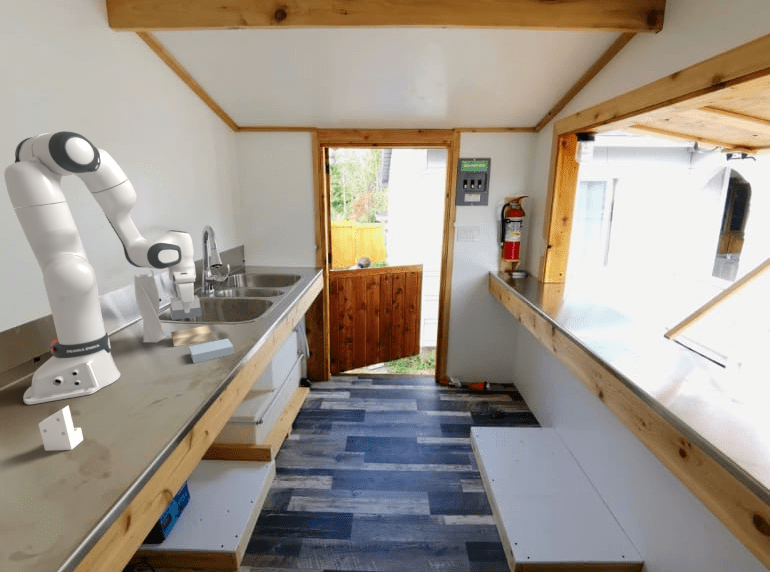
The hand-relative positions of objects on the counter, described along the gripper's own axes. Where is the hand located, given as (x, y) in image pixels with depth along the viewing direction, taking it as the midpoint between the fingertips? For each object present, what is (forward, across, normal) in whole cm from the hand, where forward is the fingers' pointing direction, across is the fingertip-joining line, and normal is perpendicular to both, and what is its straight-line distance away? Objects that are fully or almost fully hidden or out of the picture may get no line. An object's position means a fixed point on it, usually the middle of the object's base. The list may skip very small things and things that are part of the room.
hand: (185, 310), depth 146 cm
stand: (+12, +19, +5) cm, 24 cm away
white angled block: (+14, +54, -32) cm, 65 cm away
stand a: (+12, -1, +1) cm, 12 cm away
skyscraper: (+13, -8, -11) cm, 19 cm away
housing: (+2, 0, 0) cm, 2 cm away
